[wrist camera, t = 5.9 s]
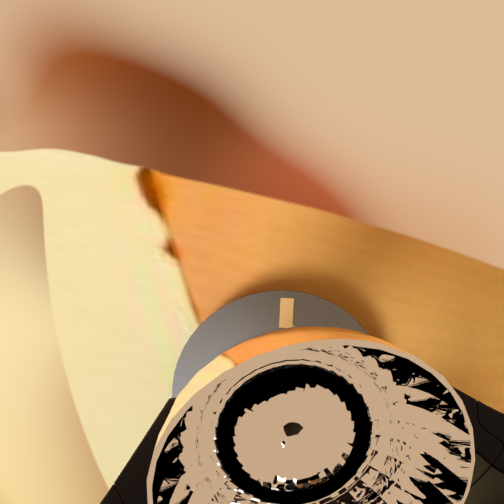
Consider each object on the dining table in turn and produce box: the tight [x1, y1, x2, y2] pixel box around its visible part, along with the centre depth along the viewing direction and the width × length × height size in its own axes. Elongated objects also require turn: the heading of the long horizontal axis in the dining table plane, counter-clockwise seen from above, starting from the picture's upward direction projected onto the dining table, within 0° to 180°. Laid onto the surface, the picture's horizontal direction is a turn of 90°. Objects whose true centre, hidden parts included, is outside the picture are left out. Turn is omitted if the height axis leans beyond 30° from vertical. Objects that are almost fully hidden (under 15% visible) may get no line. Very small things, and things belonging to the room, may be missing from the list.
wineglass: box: [147, 325, 475, 504], centre depth 8 cm, size 6×6×12 cm
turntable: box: [172, 290, 368, 398], centre depth 17 cm, size 13×13×1 cm
